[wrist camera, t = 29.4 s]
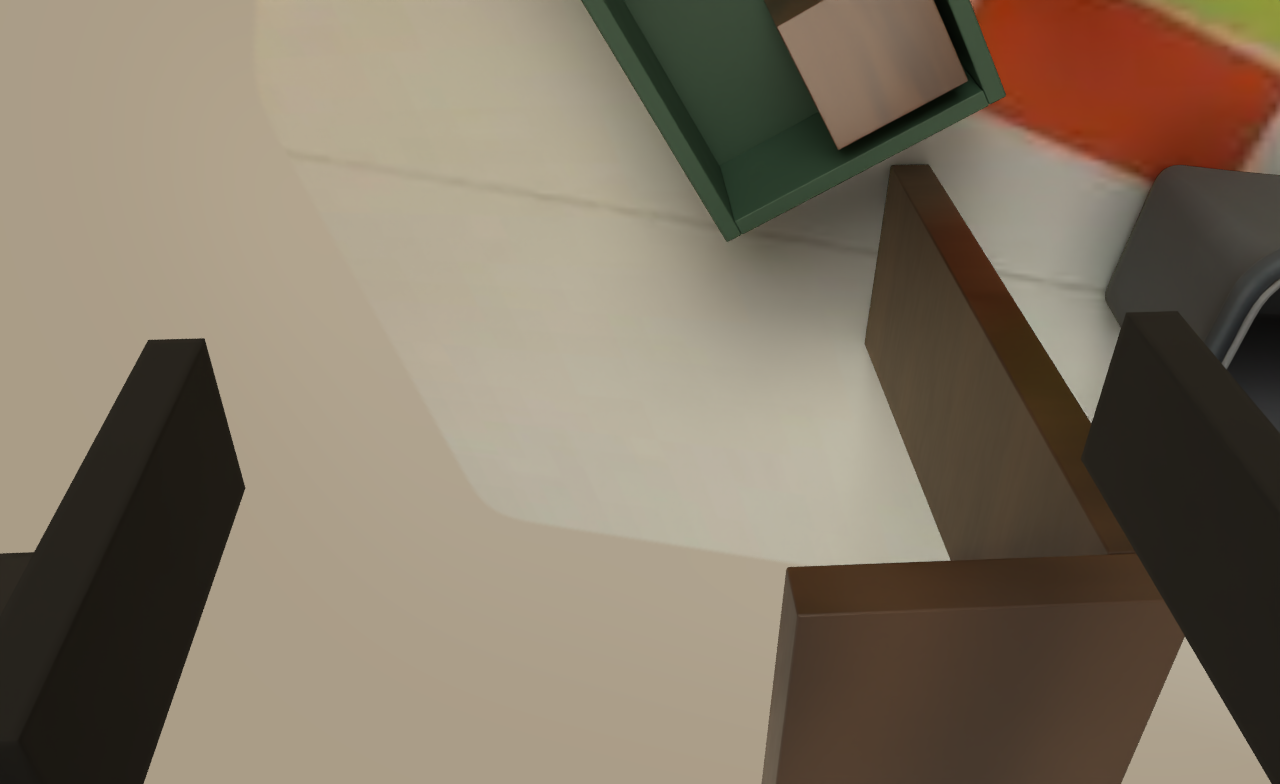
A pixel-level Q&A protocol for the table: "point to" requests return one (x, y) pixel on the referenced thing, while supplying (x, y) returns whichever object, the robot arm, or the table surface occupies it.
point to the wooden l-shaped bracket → (971, 558)
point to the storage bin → (1212, 269)
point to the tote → (763, 102)
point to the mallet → (867, 59)
